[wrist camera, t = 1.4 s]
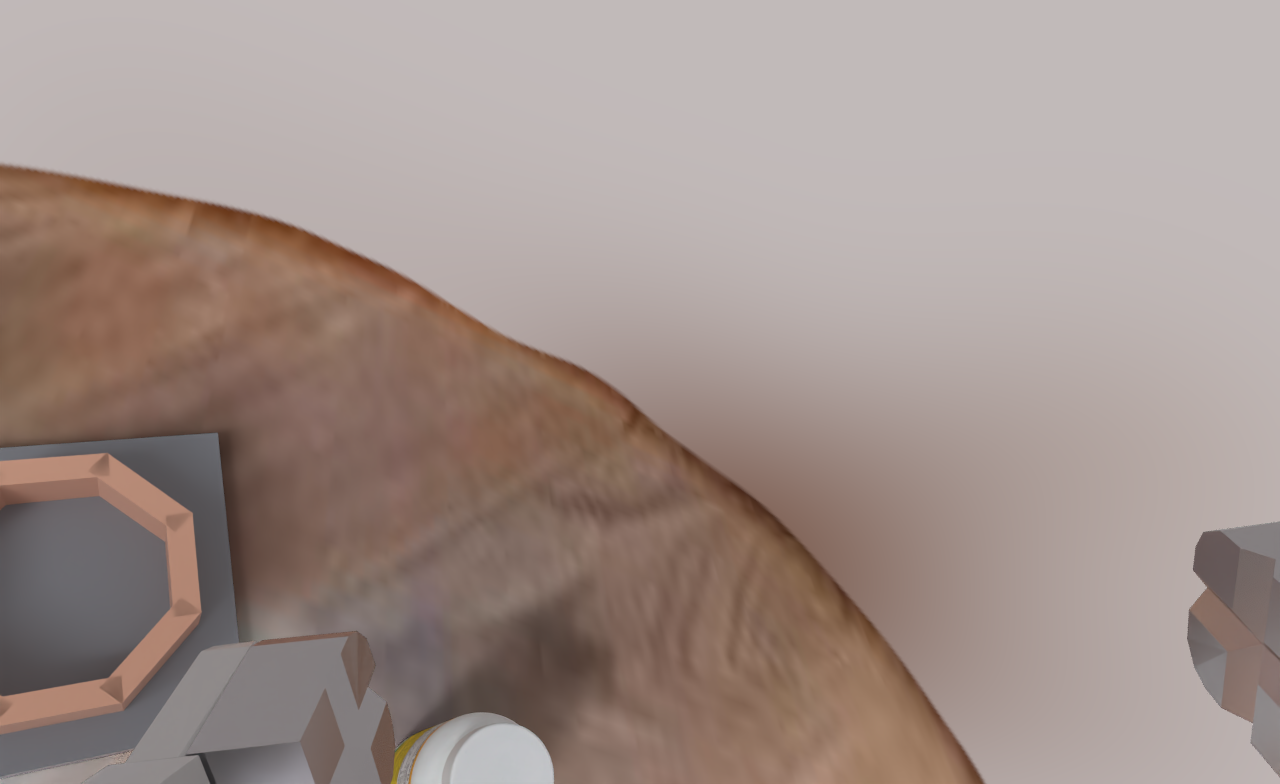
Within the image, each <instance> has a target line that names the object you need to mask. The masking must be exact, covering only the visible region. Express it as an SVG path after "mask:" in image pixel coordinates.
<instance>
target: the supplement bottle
mask: <svg viewBox="0 0 1280 784" xmlns="http://www.w3.org/2000/svg"><path fill="white" fill-rule="evenodd" d="M391 784H554V769H553V764H552V761H551V757H550V755H549V752H548V751H547V749H546V747H545V745H544V744H543V742H542V741H541V740H540V739H539V738H538V737H537V736H536V735H535V734H534V733H533V732H531V731H530V730H528V729H527V728H525V727H523V726H520V725H518V724H517V723H516V722H514V721H512V720H511V719H509V718H506V717H504V716H501V715H498V714H494V713H487V712H476V713H469V714H465V715H461V716H458V717H456V718H453V719H451V720H448V721H446V722H443V723H441V724H438V725H436V726H433V727H431V728H428V729H426V730H423V731H420V732H418V733H416V734H414V735H412V736H411V737H409V738H407V739H406V740H405V741H403V742H402V743H401V744H400V745H399V746H398V747H397V748H396V749H395V756H394V770H393V778H392V781H391Z"/></svg>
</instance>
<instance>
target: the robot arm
mask: <svg viewBox="0 0 1280 784" xmlns="http://www.w3.org/2000/svg"><path fill="white" fill-rule="evenodd" d="M1193 571H1194V572H1195V573H1196V574H1197V576H1198V577H1199V578H1200V579H1201V580H1202V582H1203V583H1204V584H1205V585H1206V586H1207V589H1206V590H1205V591H1204V592H1203V593H1202V595H1201V596H1200V597H1199V598H1198V599H1197V600H1196V602H1195V603H1194V604H1193V605H1192V606H1191V608H1190V609H1189V618H1188V636H1187V639H1188V644H1189V647H1190V652H1191V656H1192V659H1193V664H1194V668H1195V670H1196V671H1197V673H1198V675H1199V677H1200V679H1201V681H1202V683H1203V685H1204V687H1205V688H1206V690H1207V691H1208V692H1209V694H1210V695H1211V696H1212V697H1213V698H1214V700H1215V701H1216V702H1217V703H1218V705H1219V706H1220V707H1221V708H1223V709H1225V710H1227V711H1229V712H1231V713H1233V714H1235V715H1237V716H1239V717H1241V718H1243V719H1245V720H1247V721H1249V722H1251V723H1253V727H1252V735H1251V744H1252V745H1253V746H1254V747H1255V749H1256V750H1257V751H1258V752H1259V753H1260V754H1261V756H1262V757H1263V758H1264V759H1265V760H1266V762H1267V763H1268V764H1269V765H1270V766H1271V768H1272V769H1273V770H1274V771H1275V772H1276V773H1277V774H1278V776H1279V777H1280V522H1273V523H1266V524H1259V525H1252V526H1244V527H1236V528H1229V529H1222V530H1214V531H1207V532H1203V534H1202V536H1201V538H1200V539H1199V542H1198V543H1197V545H1196V548H1195V556H1194V565H1193ZM375 666H376V665H375V662H374V659H373V656H372V653H371V650H370V647H369V644H368V641H367V638H365V637H364V636H363V635H362V634H360V633H359V632H358V631H352V632H342V633H332V634H322V635H311V636H301V637H291V638H281V639H270V640H262V641H260V642H257V641H249V642H242V643H234V644H226V645H218V646H212V647H210V648H208V649H206V650H203V651H201V652H200V654H199V655H198V656H197V658H196V659H195V661H194V662H193V664H192V665H191V667H190V668H189V670H188V671H187V672H186V674H185V675H184V677H183V678H182V680H181V681H180V683H179V684H178V686H177V687H176V689H175V690H174V692H173V693H172V694H171V696H170V697H169V699H168V700H167V702H166V703H165V705H164V706H163V708H162V709H161V711H160V712H159V713H158V715H157V716H156V718H155V719H154V721H153V722H152V724H151V725H150V727H149V728H148V730H147V731H146V733H145V734H144V735H143V737H142V738H141V740H140V741H139V743H138V744H137V746H136V747H135V749H134V750H133V752H132V753H131V755H130V756H129V757H128V759H127V760H126V762H125V763H122V764H114V765H108V766H106V767H105V768H103V769H102V770H100V771H99V772H97V773H96V774H94V775H93V776H91V777H90V778H88V779H87V780H85V781H84V782H82V783H81V784H391V781H392V778H393V770H394V756H395V740H394V732H393V724H392V719H391V716H390V712H389V709H388V705H387V702H386V701H385V700H384V699H382V698H381V697H380V696H379V695H377V694H376V693H375V692H374V691H372V690H371V689H370V688H369V687H368V685H369V682H370V680H371V677H372V674H373V672H374V669H375Z"/></svg>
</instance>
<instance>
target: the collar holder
mask: <svg viewBox="0 0 1280 784" xmlns="http://www.w3.org/2000/svg"><path fill="white" fill-rule="evenodd" d="M234 643H239V636H238V626H237V617H236V607H235V597H234V587H233V577H232V567H231V557H230V548H229V538H228V528H227V518H226V508H225V498H224V489H223V479H222V469H221V459H220V449H219V439H218V433H206V434H192V435H177V436H163V437H149V438H135V439H120V440H106V441H92V442H78V443H63V444H49V445H35V446H21V447H7V448H0V779H2V778H7V777H12V776H16V775H21V774H26V773H31V772H35V771H40V770H45V769H49V768H54V767H59V766H63V765H68V764H73V763H77V762H82V761H87V760H92V759H96V758H101V757H106V756H110V755H115V754H120V753H124V752H129V751H133V750H134V749H135V747H136V746H137V744H138V743H139V741H140V740H141V738H142V737H143V735H144V734H145V733H146V731H147V730H148V728H149V727H150V725H151V724H152V722H153V721H154V719H155V718H156V716H157V715H158V713H159V712H160V711H161V709H162V708H163V706H164V705H165V703H166V702H167V700H168V699H169V697H170V696H171V694H172V693H173V692H174V690H175V689H176V687H177V686H178V684H179V683H180V681H181V680H182V678H183V677H184V675H185V674H186V672H187V671H188V670H189V668H190V667H191V665H192V664H193V662H194V661H195V659H196V658H197V656H198V655H199V654H200V652H201V651H203V650H206V649H208V648H210V647H212V646H218V645H226V644H234Z"/></svg>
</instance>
